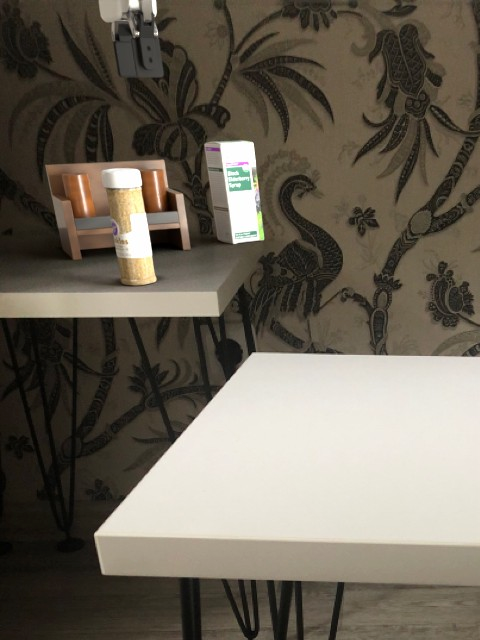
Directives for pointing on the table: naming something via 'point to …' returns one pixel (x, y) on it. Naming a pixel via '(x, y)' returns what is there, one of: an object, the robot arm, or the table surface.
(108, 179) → the sprinkles bottle
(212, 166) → the syrup box
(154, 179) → the spice rack
